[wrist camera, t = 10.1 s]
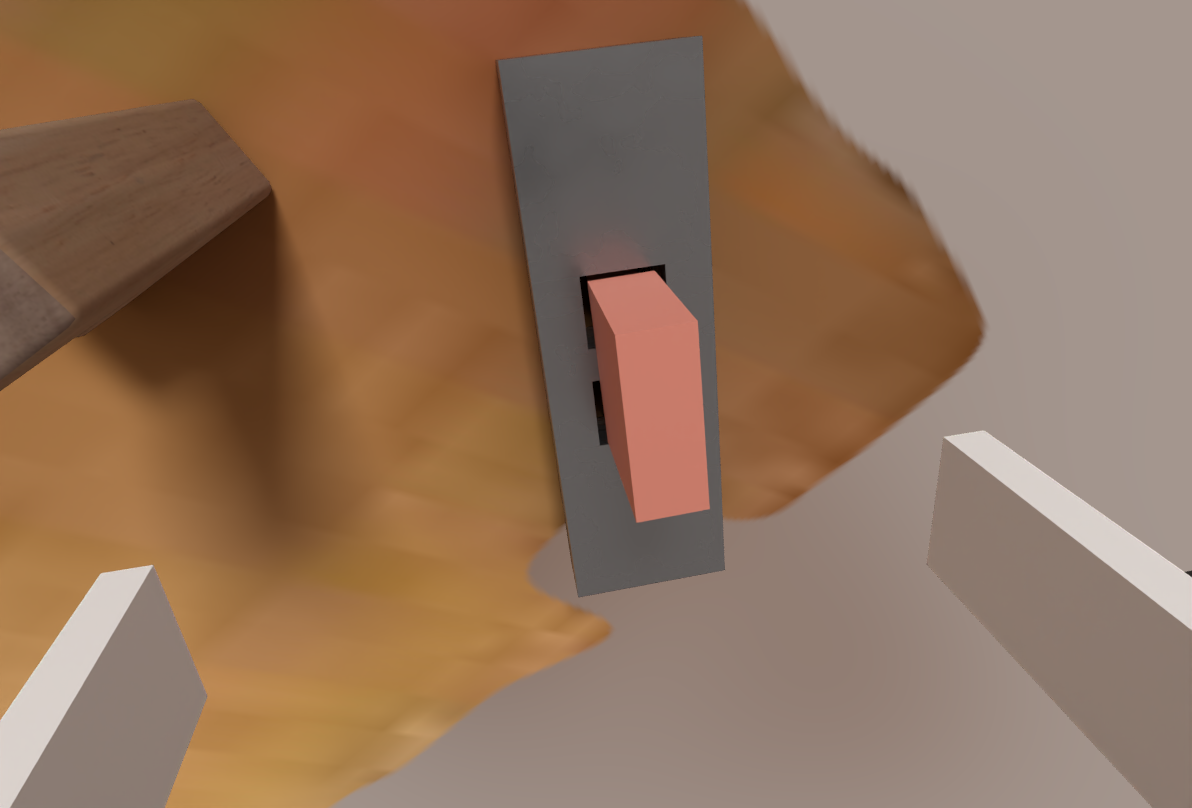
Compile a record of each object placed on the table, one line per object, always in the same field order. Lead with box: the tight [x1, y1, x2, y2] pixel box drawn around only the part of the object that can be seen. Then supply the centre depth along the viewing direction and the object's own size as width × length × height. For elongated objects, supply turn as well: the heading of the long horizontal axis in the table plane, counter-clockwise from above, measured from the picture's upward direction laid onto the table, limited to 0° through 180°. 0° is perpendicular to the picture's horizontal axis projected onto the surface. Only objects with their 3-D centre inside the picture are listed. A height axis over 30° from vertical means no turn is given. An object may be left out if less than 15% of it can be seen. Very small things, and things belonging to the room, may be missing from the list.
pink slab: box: [586, 268, 710, 523], centre depth 33 cm, size 3×8×10 cm, turn 7°
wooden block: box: [0, 99, 272, 391], centre depth 24 cm, size 9×4×18 cm, turn 124°
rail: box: [496, 36, 725, 597], centre depth 36 cm, size 8×26×3 cm, turn 7°
